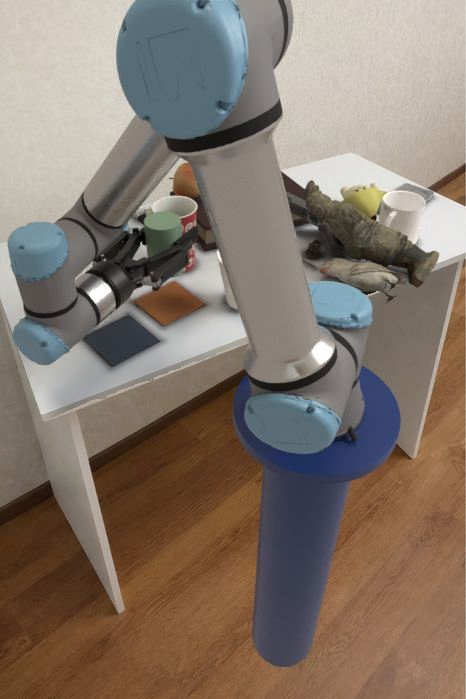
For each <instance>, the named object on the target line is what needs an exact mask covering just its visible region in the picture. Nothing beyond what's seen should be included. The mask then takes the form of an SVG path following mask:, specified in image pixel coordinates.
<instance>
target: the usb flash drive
mask: <svg viewBox="0 0 466 699" xmlns="http://www.w3.org/2000/svg"><path fill="white" fill-rule="evenodd" d="M151 208H152V207H151ZM151 208H145V209H143V212H144V213H143V212H141V211H138V210H137V211H136V212H135V214H134V215H133V216H132V218H135V219H137V221H138V222H141V223H143V224H144V219H145V218H146V217H147V216H148V215H150V214H152V213H153V212H152V209H151Z"/></svg>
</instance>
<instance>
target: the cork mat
mask: <svg viewBox="0 0 466 699" xmlns="http://www.w3.org/2000/svg"><path fill="white" fill-rule="evenodd" d="M132 302H133V303H134V304H136V306H138V307H139V308H140V309H142V310H143V311H144V312H145V313H146V314H147V315H149V316H150V317H152V318H153V319H154V320H155V322H157V323H159V324H160V325H161V326H162V327H166V326H167V325H170V324H171V323H173V322H176V321H177V320H179V319H181V318H183V317H185V316H188V314H191V313H193V312H195V311H197V310H199V309H201V308H203V307H204V306H206V302H204V301H202V300H201V299H200V298H198V296H196V295H195V294H194V293H192V292H190V291H188V289H186V288H185V287H183V286H182V285H181V284H179V283H178V282H176V280H173V281H171V282H170V283H167V284H165V285H162V286H161V287H160V289H159V290H158V291H153V290H152V291H150V292H148V293H146V294H144V295H141V296H140V297H138V298H137V297H136V298H135V299H133V300H132Z"/></svg>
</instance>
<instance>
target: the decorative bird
mask: <svg viewBox="0 0 466 699" xmlns="http://www.w3.org/2000/svg"><path fill="white" fill-rule="evenodd" d="M319 273H320V274H321V275H326V276H331V277H334V278H338V279H339V280H340V281H342V283H344V284H347V285H350V286H352V287H354V288H356V289H358V290H360V291H361V292H367V293H368V292H380V293H382V294H384V295H385V296H386V297H387V298H386V305H387V304H388V303H389V302H390V301H392V300H394V298H396V297H397V295H390V294H388V292H390V291H391V290H393V289H394V288H396V286H399V285H401V286H406V285H407V282H408V280H409V278H408V276H407V275H408V274H404V273H402V272H398V271H393V270H390V269H389V268H388V267H387V268H385V267H383V266H381V265H379V264H375V263H372V262H369V261H362V262H361V261H357V262H355V261H352V260H348V259H345V258H343V257H342V258H341V257H334V258H330V259H328V260H327V261H325V263H323V264H322V266H321V267H320V269H319ZM408 283H409V282H408ZM387 290H388V292H387Z"/></svg>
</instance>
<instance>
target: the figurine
mask: <svg viewBox="0 0 466 699" xmlns="http://www.w3.org/2000/svg"><path fill="white" fill-rule="evenodd" d="M322 244H323V242H322V241H321V240H319V239H317V238H315V237H314V238H313V240H312V241H311V242H309V243H308V246H307V250H305V251H304V256H305V257H306V258H307V259H311V260H317V259H320V258H321V257H322V256H323V254H322V253H323V252H321V251H322V247H323V245H322ZM302 261H303V263H304V262H305V263H306V264H308V265H309V266H311V267H313V268H315V269H317V267H316V266H315V265H313V264H311V263H310V262H308V261H305V260H304V259H302Z"/></svg>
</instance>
